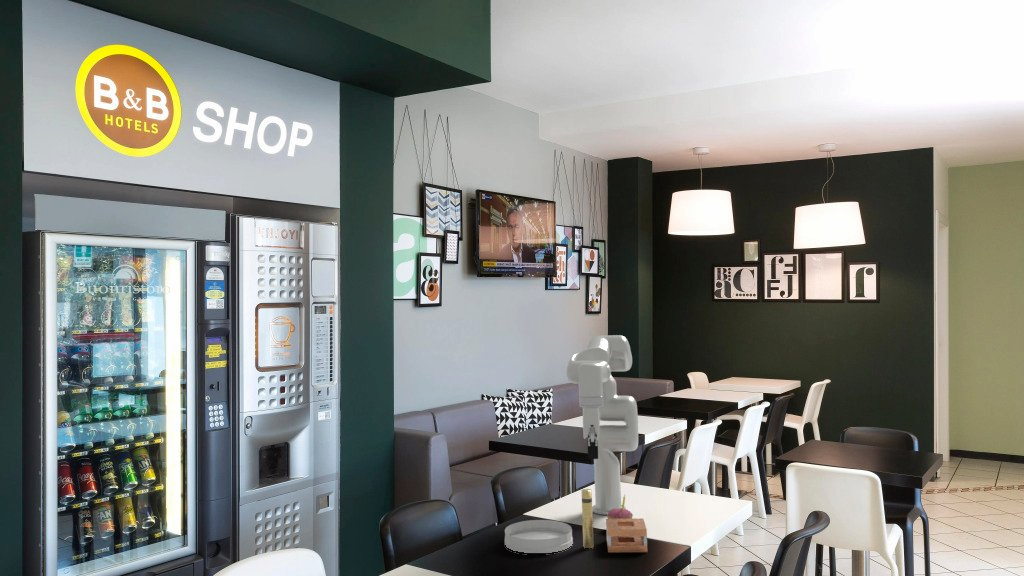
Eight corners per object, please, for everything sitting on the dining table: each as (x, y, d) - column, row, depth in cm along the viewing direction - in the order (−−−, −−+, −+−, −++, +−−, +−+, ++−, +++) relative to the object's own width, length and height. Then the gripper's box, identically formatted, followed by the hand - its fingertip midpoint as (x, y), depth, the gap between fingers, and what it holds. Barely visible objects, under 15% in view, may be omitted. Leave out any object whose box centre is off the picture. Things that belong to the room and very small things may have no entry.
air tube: (583, 545, 244) (581, 489, 244) (593, 545, 243) (591, 488, 244) (583, 549, 240) (581, 491, 241) (593, 549, 240) (591, 491, 241)
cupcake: (635, 526, 262) (633, 491, 263) (630, 534, 254) (629, 497, 255) (610, 525, 265) (609, 490, 266) (605, 532, 257) (603, 496, 258)
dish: (561, 558, 233) (561, 542, 233) (494, 552, 241) (493, 536, 241) (580, 537, 254) (580, 522, 254) (518, 532, 261) (517, 517, 262)
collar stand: (606, 540, 248) (606, 518, 249) (644, 540, 247) (643, 518, 248) (608, 552, 236) (607, 529, 237) (647, 552, 235) (646, 529, 236)
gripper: (579, 398, 252) (581, 451, 252) (579, 405, 235) (580, 461, 235) (602, 398, 252) (604, 450, 251) (603, 404, 234) (605, 461, 234)
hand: (593, 455), depth 243 cm, fingers open, 9 cm apart
